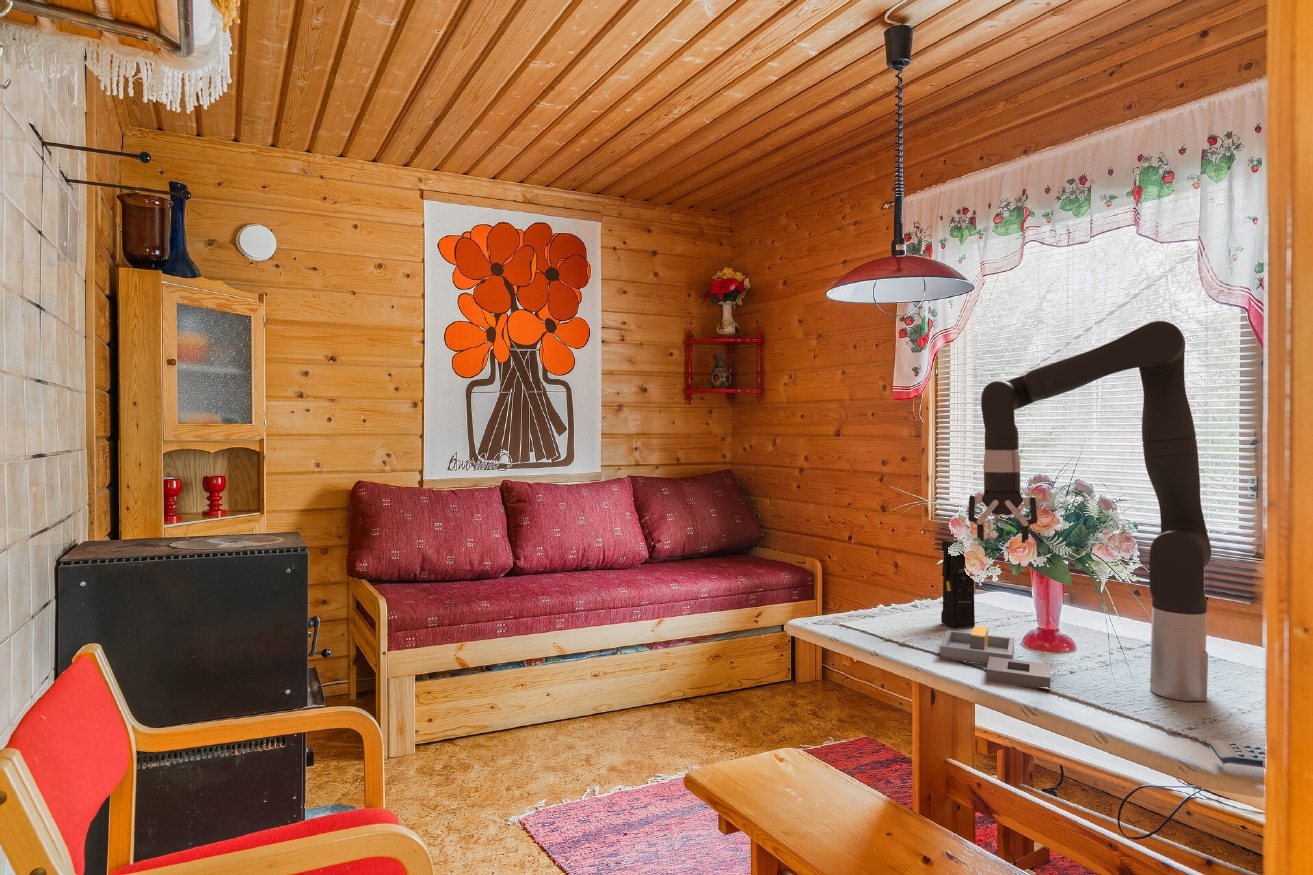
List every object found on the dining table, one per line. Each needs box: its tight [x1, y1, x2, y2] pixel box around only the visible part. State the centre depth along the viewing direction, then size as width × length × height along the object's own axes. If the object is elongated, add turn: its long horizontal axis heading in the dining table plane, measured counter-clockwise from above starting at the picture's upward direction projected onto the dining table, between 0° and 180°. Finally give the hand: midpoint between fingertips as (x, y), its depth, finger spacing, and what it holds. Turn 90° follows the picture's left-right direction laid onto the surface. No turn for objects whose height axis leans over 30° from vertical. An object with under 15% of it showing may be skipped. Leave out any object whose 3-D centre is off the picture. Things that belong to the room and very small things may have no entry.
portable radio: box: [940, 539, 976, 629], centre depth 211 cm, size 8×6×25 cm
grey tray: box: [939, 630, 1015, 666], centre depth 186 cm, size 15×15×3 cm
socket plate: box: [986, 656, 1051, 689], centre depth 169 cm, size 12×10×2 cm
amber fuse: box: [970, 625, 989, 651], centre depth 186 cm, size 3×4×9 cm
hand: (1002, 541), depth 179 cm, fingers open, 8 cm apart
